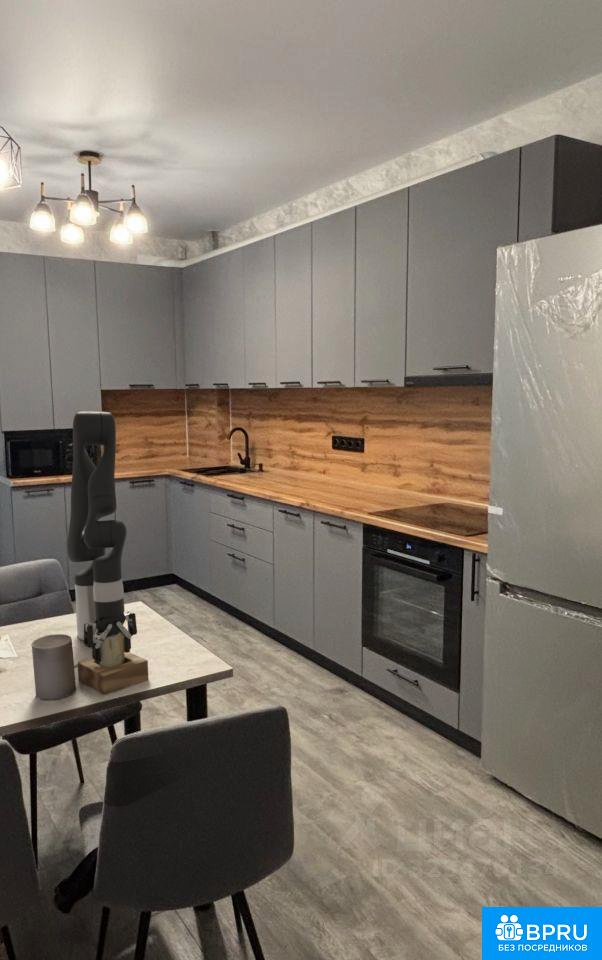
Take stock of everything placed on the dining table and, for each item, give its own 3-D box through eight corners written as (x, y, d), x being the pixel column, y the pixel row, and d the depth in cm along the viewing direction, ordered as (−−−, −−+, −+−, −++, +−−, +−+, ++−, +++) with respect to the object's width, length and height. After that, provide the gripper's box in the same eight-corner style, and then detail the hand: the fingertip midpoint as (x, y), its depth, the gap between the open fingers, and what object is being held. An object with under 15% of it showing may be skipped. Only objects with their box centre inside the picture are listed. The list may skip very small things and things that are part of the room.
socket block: (78, 681, 187) (77, 661, 186) (121, 666, 196) (120, 648, 195) (104, 695, 178) (103, 675, 177) (148, 679, 187) (147, 660, 186)
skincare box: (115, 684, 183) (112, 639, 182) (100, 683, 184) (97, 638, 183) (126, 674, 190) (124, 630, 188) (111, 674, 190) (108, 630, 189)
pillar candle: (68, 681, 187) (63, 626, 185) (81, 693, 179) (77, 636, 177) (30, 691, 181) (25, 635, 179) (42, 704, 173) (37, 645, 171)
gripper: (124, 587, 191) (128, 645, 193) (76, 599, 181) (80, 660, 183) (140, 593, 186) (143, 652, 188) (91, 605, 176) (95, 668, 178)
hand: (112, 656), depth 186 cm, fingers open, 8 cm apart
